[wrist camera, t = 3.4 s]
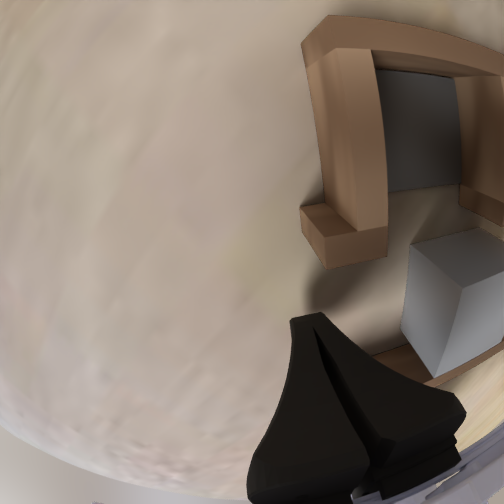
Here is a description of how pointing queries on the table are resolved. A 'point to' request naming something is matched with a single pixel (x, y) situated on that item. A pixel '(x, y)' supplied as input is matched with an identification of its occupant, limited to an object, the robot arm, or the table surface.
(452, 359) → the slate block
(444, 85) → the box
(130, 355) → the table surface
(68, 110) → the table surface
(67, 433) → the table surface
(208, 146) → the table surface
